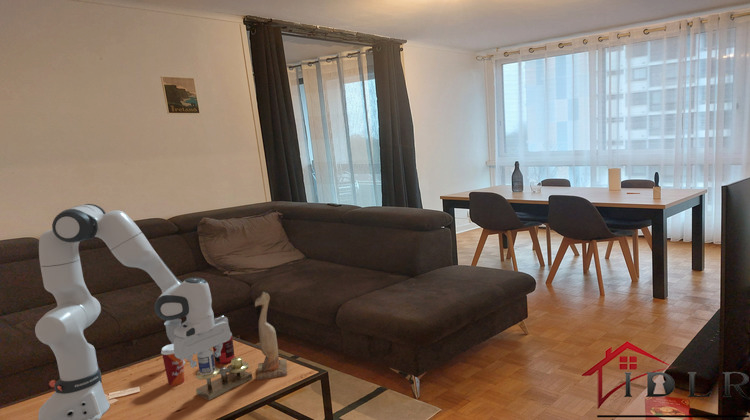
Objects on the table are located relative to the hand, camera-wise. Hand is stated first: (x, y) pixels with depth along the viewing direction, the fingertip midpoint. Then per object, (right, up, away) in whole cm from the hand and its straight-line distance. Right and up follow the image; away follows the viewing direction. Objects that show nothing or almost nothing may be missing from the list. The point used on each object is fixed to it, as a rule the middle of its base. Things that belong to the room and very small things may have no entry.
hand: (206, 361), depth 171 cm
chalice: (-21, -10, +29) cm, 38 cm away
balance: (+5, -11, +6) cm, 14 cm away
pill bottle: (0, -4, +1) cm, 4 cm away
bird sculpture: (+20, -9, +15) cm, 27 cm away
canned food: (-2, -9, +29) cm, 30 cm away
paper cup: (-16, -12, +13) cm, 24 cm away
